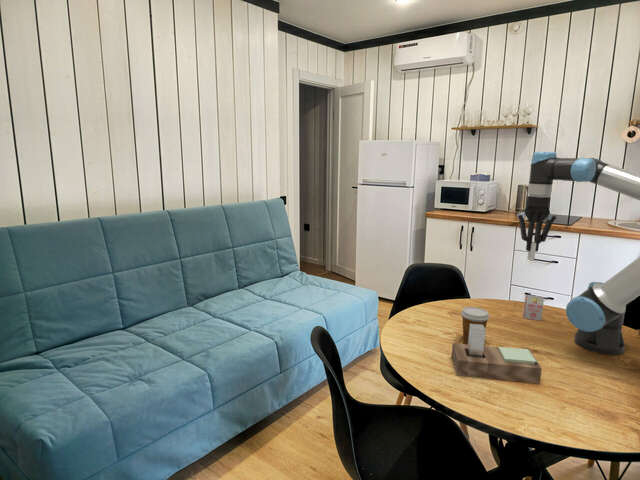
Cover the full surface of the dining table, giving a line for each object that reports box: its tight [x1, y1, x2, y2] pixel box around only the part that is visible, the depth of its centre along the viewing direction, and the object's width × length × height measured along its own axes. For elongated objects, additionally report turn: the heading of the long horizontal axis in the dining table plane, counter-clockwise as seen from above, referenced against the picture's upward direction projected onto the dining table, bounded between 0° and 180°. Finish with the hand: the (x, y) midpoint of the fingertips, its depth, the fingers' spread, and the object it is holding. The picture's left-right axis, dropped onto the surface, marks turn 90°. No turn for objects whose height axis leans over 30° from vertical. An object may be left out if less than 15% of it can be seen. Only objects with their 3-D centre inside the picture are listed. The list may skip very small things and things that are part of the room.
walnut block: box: [451, 342, 543, 385], centre depth 132 cm, size 24×12×5 cm, turn 80°
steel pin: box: [467, 324, 487, 358], centre depth 132 cm, size 4×4×14 cm
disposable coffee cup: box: [460, 306, 490, 344], centre depth 150 cm, size 10×10×12 cm
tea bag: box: [522, 294, 545, 322], centre depth 173 cm, size 4×7×10 cm, turn 66°
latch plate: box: [497, 346, 539, 365], centre depth 130 cm, size 10×8×1 cm
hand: (530, 259), depth 153 cm, fingers closed
